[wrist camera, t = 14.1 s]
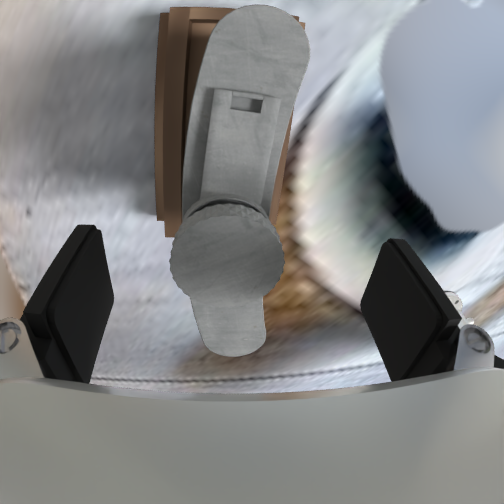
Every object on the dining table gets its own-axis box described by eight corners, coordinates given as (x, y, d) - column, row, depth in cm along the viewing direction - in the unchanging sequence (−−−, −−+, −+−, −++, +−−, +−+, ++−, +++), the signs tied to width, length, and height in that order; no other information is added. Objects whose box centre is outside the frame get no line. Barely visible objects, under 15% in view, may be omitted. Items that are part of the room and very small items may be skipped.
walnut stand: (302, 23, 22) (315, 19, 19) (274, 219, 33) (280, 240, 30) (162, 14, 20) (153, 8, 17) (158, 215, 32) (152, 236, 28)
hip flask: (240, 205, 31) (268, 395, 15) (198, 204, 30) (185, 396, 14) (255, 38, 22) (344, 1, 5) (205, 36, 21) (169, -16, 5)
